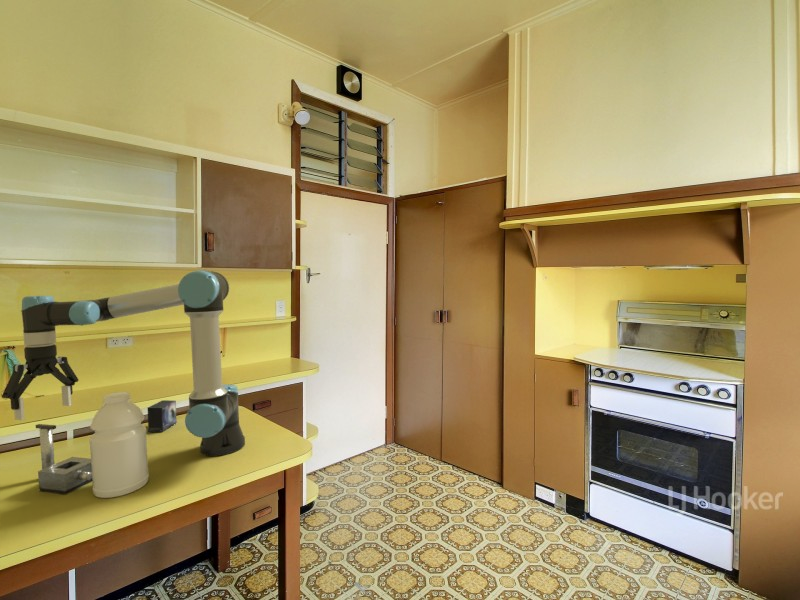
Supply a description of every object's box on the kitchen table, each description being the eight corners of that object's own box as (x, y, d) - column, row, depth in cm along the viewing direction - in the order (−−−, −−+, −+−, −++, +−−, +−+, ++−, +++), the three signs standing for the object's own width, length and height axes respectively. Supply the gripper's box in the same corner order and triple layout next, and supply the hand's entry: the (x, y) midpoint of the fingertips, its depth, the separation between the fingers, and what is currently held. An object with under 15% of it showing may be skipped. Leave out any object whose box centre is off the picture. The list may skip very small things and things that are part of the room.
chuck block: (104, 478, 126) (103, 459, 126) (72, 495, 117) (70, 475, 116) (73, 475, 129) (72, 456, 129) (39, 491, 119) (37, 471, 119)
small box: (163, 432, 165) (161, 407, 164) (147, 432, 165) (146, 407, 164) (177, 423, 175) (176, 399, 175) (163, 423, 175) (161, 400, 175)
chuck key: (62, 476, 128) (59, 424, 127) (52, 481, 125) (49, 427, 125) (45, 474, 130) (42, 422, 129) (35, 479, 127) (31, 426, 126)
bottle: (86, 503, 112) (79, 404, 111) (100, 481, 125) (94, 392, 123) (145, 492, 118) (139, 397, 116) (152, 471, 130) (148, 386, 129)
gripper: (71, 339, 139) (75, 399, 140) (-18, 351, 114) (-13, 425, 115) (89, 339, 137) (92, 401, 138) (1, 352, 113) (6, 427, 114)
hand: (44, 412), depth 127 cm, fingers open, 13 cm apart
